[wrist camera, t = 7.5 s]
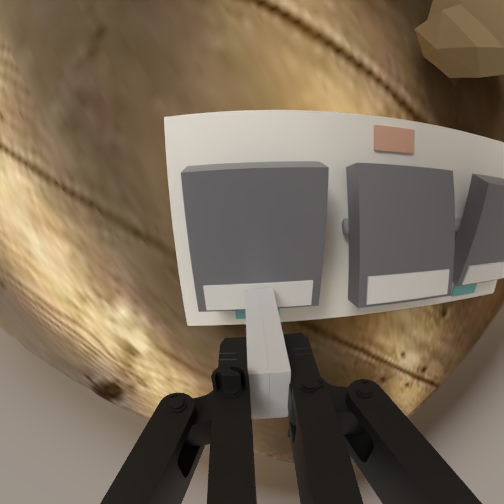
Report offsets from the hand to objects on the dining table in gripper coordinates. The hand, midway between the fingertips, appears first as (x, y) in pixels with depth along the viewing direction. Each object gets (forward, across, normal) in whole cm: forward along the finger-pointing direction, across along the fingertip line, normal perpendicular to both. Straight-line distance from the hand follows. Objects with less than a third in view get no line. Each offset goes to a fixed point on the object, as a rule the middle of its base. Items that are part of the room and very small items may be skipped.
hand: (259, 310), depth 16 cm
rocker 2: (+1, +18, +4) cm, 18 cm away
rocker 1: (+1, 0, +4) cm, 4 cm away
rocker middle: (+1, +9, +4) cm, 10 cm away
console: (+8, +9, +4) cm, 13 cm away
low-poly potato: (+8, +18, +21) cm, 29 cm away
